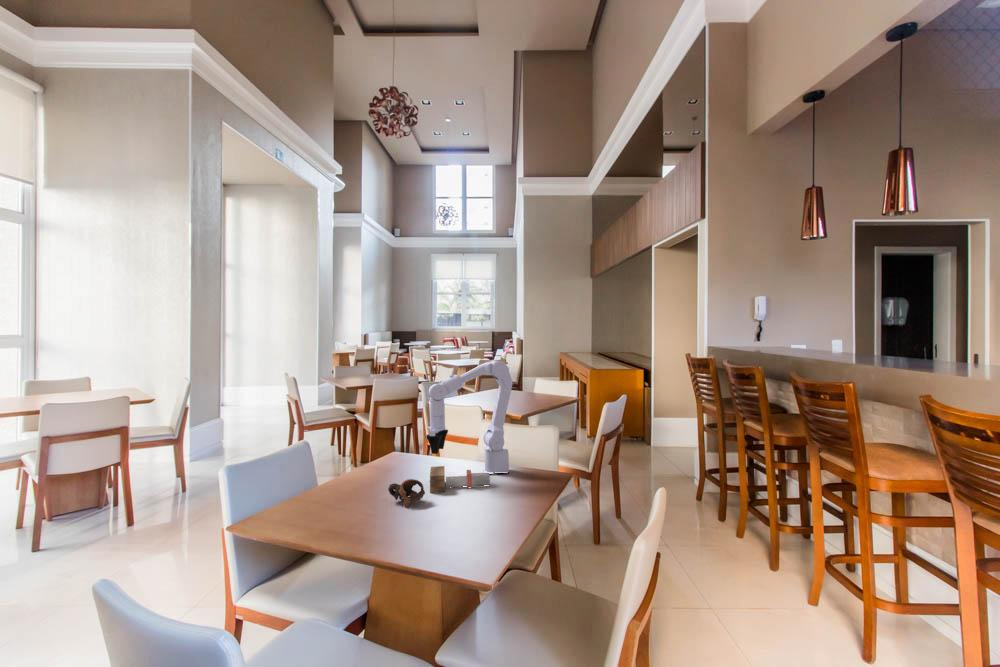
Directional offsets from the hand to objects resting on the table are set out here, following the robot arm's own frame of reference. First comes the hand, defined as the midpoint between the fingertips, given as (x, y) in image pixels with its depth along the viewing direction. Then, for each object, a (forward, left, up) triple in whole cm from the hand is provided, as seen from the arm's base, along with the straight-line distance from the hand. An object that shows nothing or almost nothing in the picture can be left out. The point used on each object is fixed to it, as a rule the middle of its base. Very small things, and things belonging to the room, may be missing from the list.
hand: (437, 451), depth 182 cm
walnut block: (0, +13, -10) cm, 16 cm away
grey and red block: (-10, +13, -10) cm, 19 cm away
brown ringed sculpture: (+10, +27, -10) cm, 30 cm away
